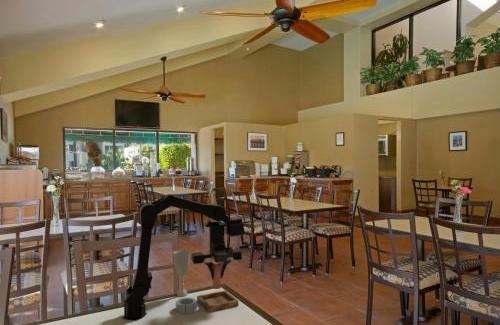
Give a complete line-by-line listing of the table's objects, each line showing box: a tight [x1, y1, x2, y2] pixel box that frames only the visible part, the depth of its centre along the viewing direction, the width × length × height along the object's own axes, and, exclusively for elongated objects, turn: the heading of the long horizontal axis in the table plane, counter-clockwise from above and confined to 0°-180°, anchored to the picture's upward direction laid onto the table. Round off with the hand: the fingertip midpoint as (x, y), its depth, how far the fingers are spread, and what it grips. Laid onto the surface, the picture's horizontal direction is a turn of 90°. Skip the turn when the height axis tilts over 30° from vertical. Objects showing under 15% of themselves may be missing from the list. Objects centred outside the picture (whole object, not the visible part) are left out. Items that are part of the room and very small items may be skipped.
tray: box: [196, 290, 239, 314], centre depth 129 cm, size 12×12×2 cm
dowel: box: [212, 262, 222, 290], centre depth 129 cm, size 3×3×9 cm
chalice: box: [173, 249, 192, 298], centre depth 138 cm, size 7×7×18 cm
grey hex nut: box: [175, 296, 198, 315], centre depth 124 cm, size 7×7×3 cm
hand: (217, 278), depth 129 cm, fingers closed on dowel, 3 cm apart
